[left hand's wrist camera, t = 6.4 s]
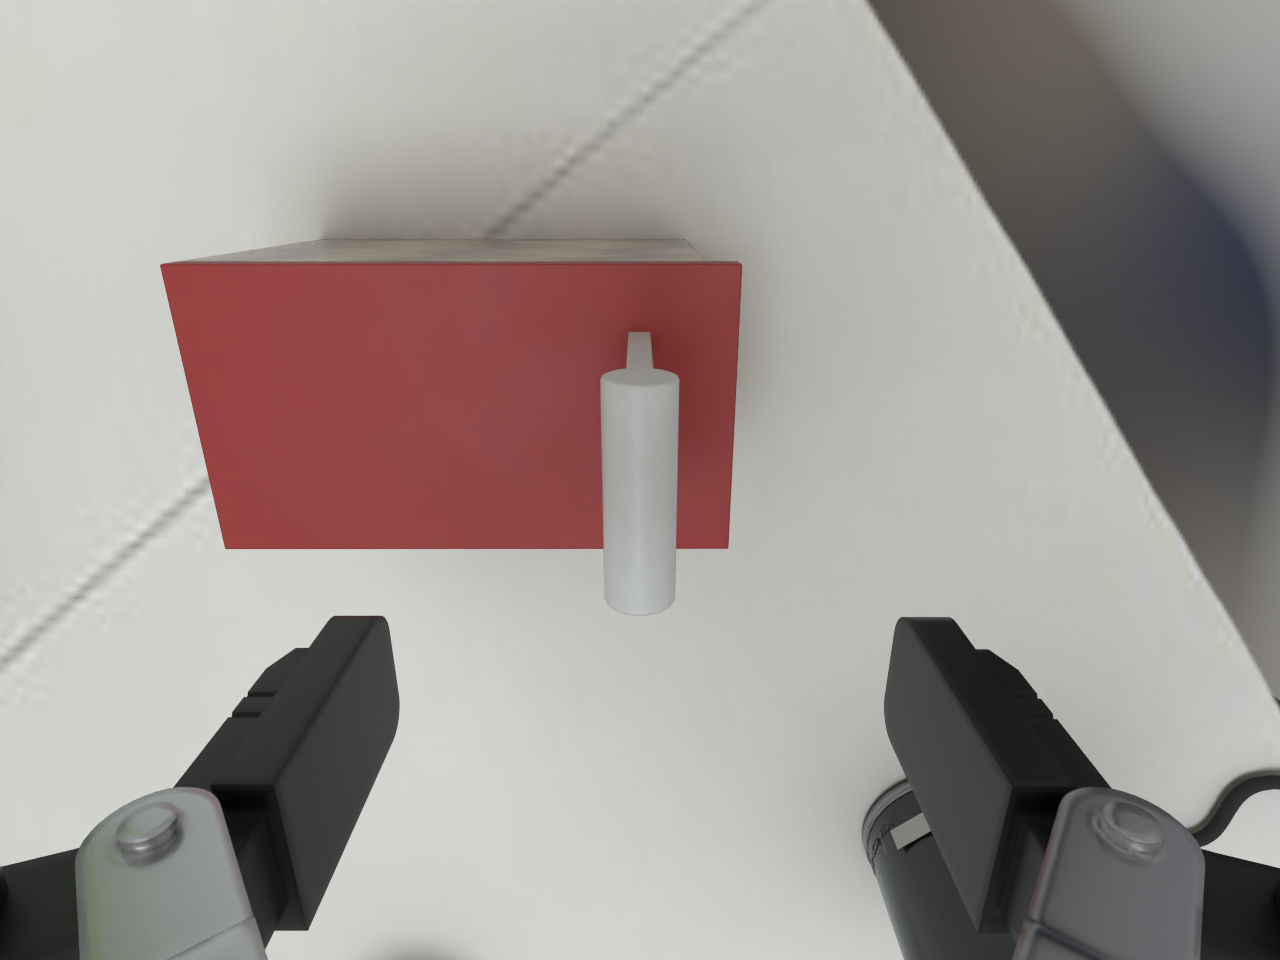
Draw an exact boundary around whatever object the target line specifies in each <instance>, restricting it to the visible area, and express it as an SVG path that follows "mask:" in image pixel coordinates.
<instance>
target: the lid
mask: <svg viewBox="0 0 1280 960" xmlns="http://www.w3.org/2000/svg"><path fill="white" fill-rule="evenodd" d="M160 267H161V271H162V275H163V280H164V284H165V288H166V293H167V297H168V302H169V306H170V310H171V315H172V319H173V323H174V328H175V332H176V336H177V341H178V345H179V349H180V354H181V358H182V362H183V367H184V371H185V376H186V380H187V384H188V389H189V393H190V397H191V402H192V406H193V410H194V415H195V419H196V423H197V428H198V432H199V436H200V441H201V445H202V449H203V454H204V458H205V463H206V467H207V471H208V476H209V480H210V484H211V489H212V493H213V497H214V502H215V506H216V510H217V515H218V519H219V523H220V528H221V532H222V537H223V541H224V545H225V549H604V589H605V600H606V602H607V604H608V605H609V606H610V607H611V608H612V609H614V610H616V611H618V612H620V613H623V614H627V615H634V616H645V615H652V614H656V613H659V612H662V611H664V610H666V609H667V608H669V607H670V606H671V605H672V603H673V601H674V599H675V570H676V549H727V548H728V543H729V523H730V502H731V482H732V461H733V441H734V420H735V400H736V379H737V359H738V338H739V318H740V297H741V277H742V264H740V263H739V262H737V261H619V262H172V263H165V264H161V265H160Z"/></svg>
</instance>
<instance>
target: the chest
mask: <svg viewBox="0 0 1280 960" xmlns="http://www.w3.org/2000/svg"><path fill="white" fill-rule="evenodd" d="M619 261H706V260H705V259H704V258H703V257H702V256H701V255H700V254H699V253H698V252H697V251H696V250H695V249H694V248H693V247H692V246H691V245H690V244H689V242H688V241H686V240H315V241H308V242H301V243H295V244H288V245H282V246H275V247H269V248H262V249H256V250H249V251H243V252H237V253H230V254H224V255H217V256H211V257H204V258H198V259H191V260H185V261H180V262H619Z"/></svg>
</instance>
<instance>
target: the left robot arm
mask: <svg viewBox="0 0 1280 960" xmlns="http://www.w3.org/2000/svg"><path fill="white" fill-rule="evenodd" d="M1271 694H1272V693H1271ZM1272 696H1273V698H1274V700H1275V702H1276V703H1277V705H1278V707H1279V709H1280V700H1278V699H1277V698H1276V697H1275V696H1274V695H1273V694H1272ZM884 715H885V723H886V729H887V733H888V736H889V739H890V742H891V744H892V746H893V748H894V751H895V753H896V755H897V757H898V759H899V762H900V764H901V766H902V768H903V770H904V773H905V775H906V777H907V779H908V781H906V782H904V783H902V784H900V785H898V786H896V787H895V788H893V789H892V790H890V791H889V792H887V793H886V794H885V795H884V796H883V797H882V798H881V799H880V800H879V801H878V802H877V803H876V804H875V805H874V806H873V808H872V809H871V811H870V812H869V814H868V816H867V818H866V821H865V824H864V828H863V845H864V848H865V851H866V854H867V857H868V860H869V862H870V864H871V866H872V869H873V872H874V875H875V876H876V878H877V881H878V884H879V887H880V890H881V893H882V896H883V899H884V902H885V905H886V908H887V911H888V914H889V917H890V920H891V923H892V926H893V929H894V932H895V935H896V938H897V940H898V943H899V946H900V949H901V952H902V955H903V958H904V960H1280V868H1276V867H1272V866H1268V865H1264V864H1260V863H1256V862H1251V861H1247V860H1243V859H1239V858H1235V857H1231V856H1226V855H1222V854H1218V853H1214V852H1210V851H1207V850H1203V849H1201V848H1200V847H1202V846H1205V845H1207V844H1209V843H1211V842H1213V841H1214V840H1216V839H1217V838H1218V837H1219V836H1220V835H1221V834H1222V833H1223V832H1224V830H1225V829H1226V827H1227V826H1228V825H1229V823H1230V821H1231V820H1232V818H1233V816H1234V815H1235V813H1236V812H1237V810H1238V809H1239V807H1240V806H1241V805H1242V803H1243V802H1244V801H1245V800H1246V799H1248V798H1249V797H1250V796H1252V795H1253V794H1255V793H1258V792H1260V791H1264V790H1271V789H1280V776H1271V775H1269V776H1262V777H1255V778H1251V779H1248V780H1246V781H1243V782H1242V783H1240V784H1238V785H1237V786H1236V787H1235V788H1233V789H1232V790H1231V791H1230V793H1229V794H1228V795H1227V796H1226V798H1225V799H1224V801H1223V802H1222V804H1221V805H1220V807H1219V809H1218V810H1217V812H1216V814H1215V815H1214V817H1213V818H1212V820H1211V821H1210V822H1209V823H1208V825H1206V826H1205V827H1204V828H1203V829H1201V830H1200V831H1198V832H1196V833H1193V834H1191V833H1190V832H1189V831H1188V830H1187V829H1186V828H1185V827H1184V826H1183V825H1182V824H1181V823H1180V822H1179V821H1177V820H1176V819H1175V818H1174V817H1172V816H1171V815H1170V814H1168V813H1167V812H1165V811H1164V810H1162V809H1161V808H1159V807H1157V806H1156V805H1154V804H1152V803H1150V802H1148V801H1146V800H1144V799H1142V798H1139V797H1137V796H1135V795H1132V794H1129V793H1126V792H1123V791H1119V790H1115V789H1112V788H1111V787H1110V786H1109V785H1108V783H1107V782H1106V781H1105V780H1104V778H1103V777H1102V776H1101V774H1100V773H1099V772H1098V771H1097V769H1096V768H1095V767H1094V766H1093V764H1092V763H1091V762H1090V761H1089V759H1088V758H1087V757H1086V755H1085V754H1084V753H1083V752H1082V750H1081V749H1080V748H1079V747H1078V745H1077V744H1076V743H1075V741H1074V740H1073V739H1072V738H1071V736H1070V735H1069V734H1068V733H1067V731H1066V730H1065V729H1064V728H1063V726H1062V725H1061V724H1060V722H1059V721H1058V720H1057V719H1053V714H1052V712H1051V711H1050V710H1049V709H1048V707H1047V706H1046V705H1045V703H1044V702H1043V701H1042V700H1041V699H1038V698H1037V693H1036V692H1035V691H1034V689H1033V688H1032V687H1031V686H1030V684H1029V683H1028V682H1027V681H1026V679H1025V678H1024V677H1023V676H1022V674H1021V673H1020V672H1019V670H1017V669H1016V668H1014V667H1013V666H1012V665H1010V664H1009V663H1007V662H1006V661H1004V660H1003V659H1001V658H1000V657H999V656H997V655H996V654H994V653H993V652H991V651H990V650H988V649H975V648H974V646H973V645H972V644H971V642H970V641H969V640H968V638H967V637H966V635H965V634H964V633H963V631H962V630H961V629H960V627H959V626H958V625H957V623H956V622H955V621H954V620H953V619H952V618H950V617H901V618H900V619H899V620H898V622H897V624H896V627H895V631H894V638H893V645H892V651H891V658H890V665H889V672H888V678H887V685H886V692H885V700H884ZM398 719H399V693H398V686H397V679H396V672H395V665H394V658H393V652H392V645H391V638H390V631H389V626H388V623H387V621H386V619H385V617H383V616H333V617H332V618H331V619H330V620H329V621H328V622H327V624H326V625H325V626H324V628H323V629H322V630H321V632H320V633H319V635H318V636H317V637H316V639H315V640H314V641H313V643H312V644H311V646H310V647H309V648H295V649H294V650H292V651H291V652H290V653H288V654H287V655H285V656H284V657H282V658H281V659H279V660H278V661H277V662H275V663H274V664H272V665H271V666H269V667H268V668H266V670H265V671H264V672H263V674H262V675H261V676H260V677H259V679H258V680H257V681H256V682H255V684H254V685H253V686H252V688H251V689H250V690H249V691H248V696H247V697H244V698H243V699H242V700H241V702H240V703H239V704H238V706H237V707H236V708H235V709H234V711H233V712H232V717H228V718H227V720H226V721H225V722H224V723H223V725H222V726H221V727H220V729H219V730H218V731H217V732H216V734H215V735H214V736H213V738H212V739H211V740H210V741H209V743H208V744H207V745H206V746H205V748H204V749H203V750H202V752H201V753H200V754H199V755H198V757H197V758H196V759H195V761H194V762H193V763H192V764H191V766H190V767H189V768H188V770H187V771H186V772H185V773H184V775H183V776H182V777H181V778H180V780H179V781H178V782H177V784H176V785H175V786H174V787H173V788H170V789H165V790H161V791H157V792H154V793H151V794H148V795H145V796H143V797H141V798H138V799H136V800H134V801H132V802H130V803H128V804H126V805H124V806H123V807H121V808H119V809H118V810H116V811H115V812H113V813H112V814H110V815H109V816H108V817H106V818H105V819H104V820H103V821H101V822H100V823H99V824H98V825H97V826H96V827H95V828H94V829H93V830H92V831H91V832H90V833H89V835H88V836H87V837H86V838H85V839H84V841H83V843H82V844H81V846H80V848H77V849H73V850H69V851H65V852H61V853H57V854H53V855H49V856H44V857H40V858H36V859H32V860H28V861H24V862H19V863H15V864H11V865H7V866H3V867H0V960H268V959H267V955H266V952H265V949H266V947H267V945H268V943H269V941H270V939H271V937H272V935H273V932H274V931H308V929H309V927H310V925H311V922H312V920H313V918H314V916H315V914H316V911H317V909H318V907H319V905H320V902H321V900H322V898H323V896H324V893H325V891H326V889H327V887H328V885H329V882H330V880H331V878H332V876H333V873H334V871H335V869H336V867H337V865H338V862H339V860H340V858H341V856H342V853H343V851H344V849H345V847H346V844H347V842H348V840H349V838H350V836H351V833H352V831H353V829H354V827H355V824H356V822H357V820H358V818H359V815H360V813H361V811H362V809H363V807H364V804H365V802H366V800H367V798H368V795H369V793H370V791H371V789H372V787H373V784H374V782H375V780H376V778H377V775H378V773H379V771H380V769H381V766H382V764H383V762H384V760H385V758H386V755H387V753H388V751H389V749H390V746H391V744H392V742H393V740H394V737H395V734H396V730H397V726H398Z"/></svg>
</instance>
